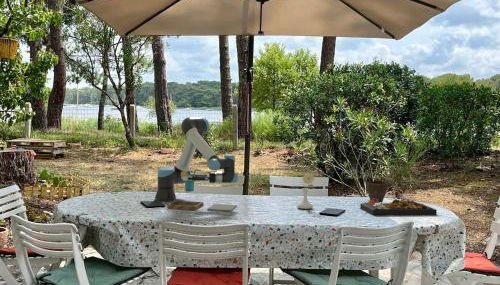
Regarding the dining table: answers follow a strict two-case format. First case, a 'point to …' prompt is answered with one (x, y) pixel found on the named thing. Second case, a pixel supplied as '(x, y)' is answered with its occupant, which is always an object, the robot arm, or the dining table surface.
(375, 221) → the dining table surface
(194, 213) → the dining table surface
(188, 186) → the cup
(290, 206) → the dining table surface
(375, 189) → the plant pot
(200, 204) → the wooden picture frame
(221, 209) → the board
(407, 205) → the food platter
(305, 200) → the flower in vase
